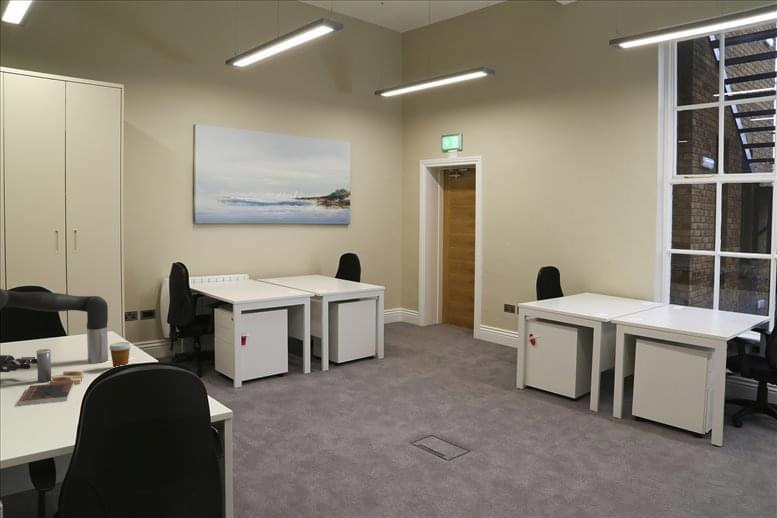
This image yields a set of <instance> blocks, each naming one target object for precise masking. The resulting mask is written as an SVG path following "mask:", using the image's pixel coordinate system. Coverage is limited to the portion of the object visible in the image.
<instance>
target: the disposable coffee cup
mask: <svg viewBox="0 0 777 518" xmlns="http://www.w3.org/2000/svg"><path fill="white" fill-rule="evenodd" d="M131 346H132V345H131V344H130V342H127V341H123V342H121V341H120V342H114V343H110V345H109V346H108V349H109V351H110V355H111V362H112V366H113V367H116V366H120V365H126V364H128V365H129V361H130V360H129V359H130V352H131V351H130V349H131Z"/></svg>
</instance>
